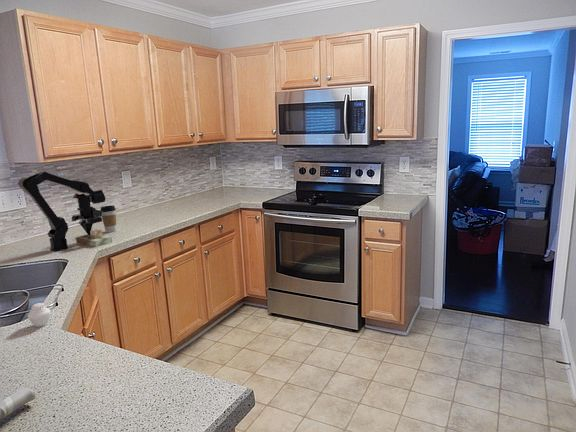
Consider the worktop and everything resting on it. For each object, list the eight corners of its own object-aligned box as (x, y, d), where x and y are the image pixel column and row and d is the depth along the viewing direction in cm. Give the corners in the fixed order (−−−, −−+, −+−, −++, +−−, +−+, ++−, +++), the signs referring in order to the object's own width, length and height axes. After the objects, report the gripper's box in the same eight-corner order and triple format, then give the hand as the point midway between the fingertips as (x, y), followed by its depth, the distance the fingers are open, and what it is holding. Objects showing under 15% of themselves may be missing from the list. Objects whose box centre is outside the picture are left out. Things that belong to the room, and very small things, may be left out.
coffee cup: (102, 233, 246) (98, 208, 243) (104, 230, 254) (100, 205, 251) (118, 232, 249) (114, 206, 245) (119, 228, 257) (115, 204, 253)
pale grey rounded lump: (55, 319, 136) (51, 298, 135) (48, 327, 131) (44, 306, 129) (34, 321, 136) (30, 300, 134) (26, 330, 130) (21, 308, 128)
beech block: (95, 239, 223) (94, 231, 222) (91, 238, 225) (89, 230, 224) (102, 237, 226) (101, 229, 225) (98, 236, 228) (97, 229, 228)
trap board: (96, 246, 219) (95, 241, 219) (76, 243, 229) (75, 237, 229) (112, 242, 227) (111, 236, 226) (92, 238, 237) (91, 233, 236)
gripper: (109, 203, 227) (113, 232, 231) (88, 201, 238) (92, 229, 241) (89, 207, 218) (94, 237, 222) (68, 205, 229) (73, 234, 232)
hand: (89, 234), depth 229 cm, fingers closed
